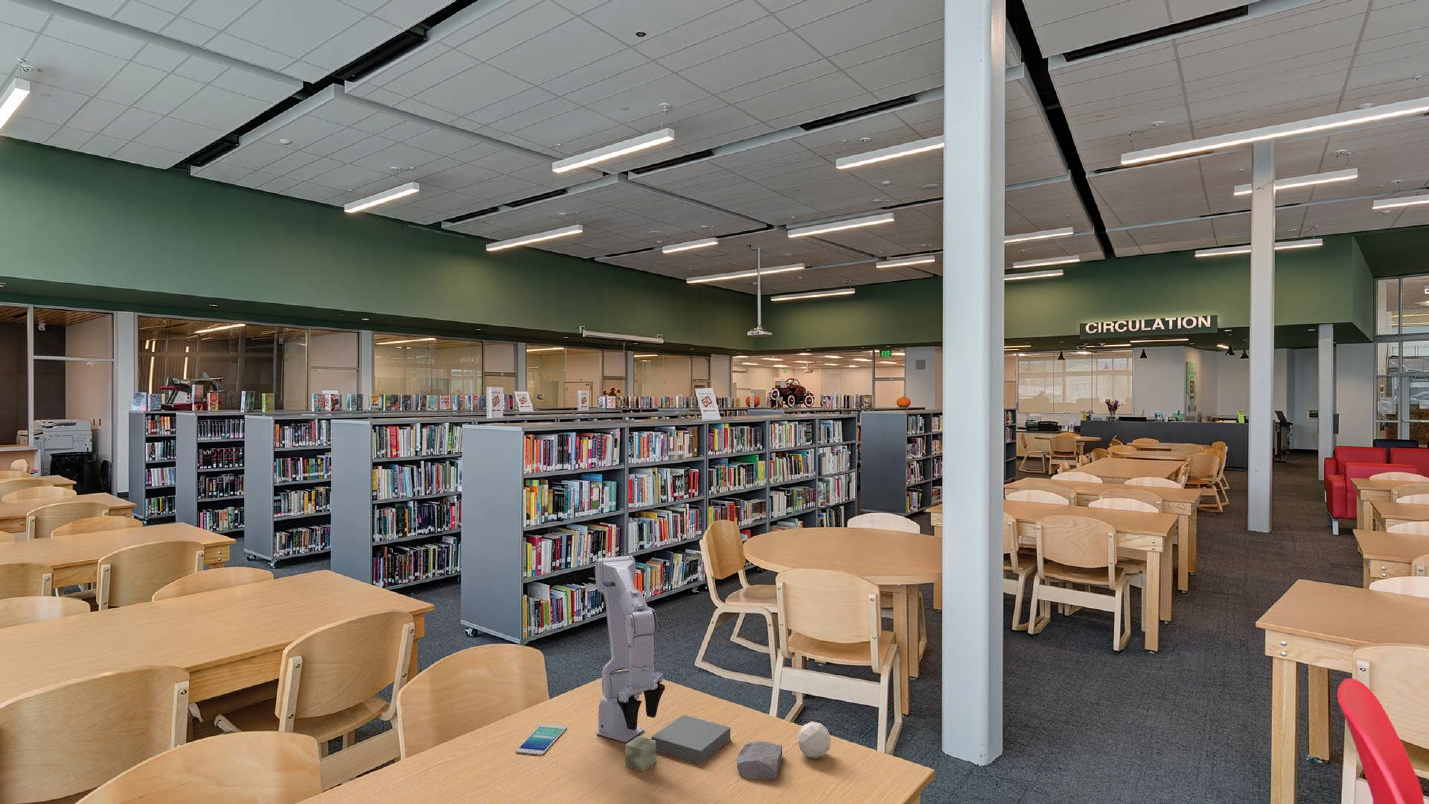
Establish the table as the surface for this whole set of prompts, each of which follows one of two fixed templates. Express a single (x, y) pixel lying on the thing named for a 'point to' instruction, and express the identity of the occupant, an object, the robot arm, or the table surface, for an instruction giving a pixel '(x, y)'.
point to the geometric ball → (814, 740)
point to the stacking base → (691, 738)
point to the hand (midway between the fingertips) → (641, 722)
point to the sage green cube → (640, 753)
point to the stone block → (759, 760)
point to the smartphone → (541, 739)
